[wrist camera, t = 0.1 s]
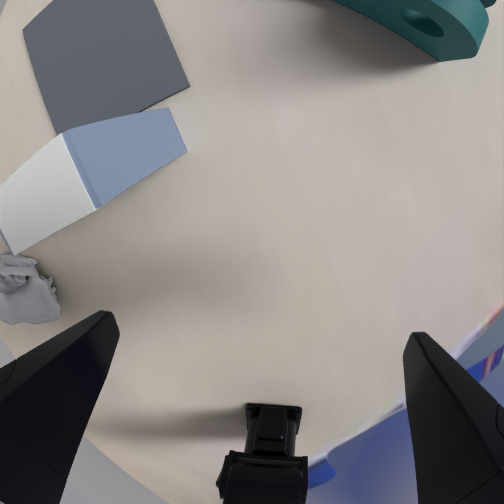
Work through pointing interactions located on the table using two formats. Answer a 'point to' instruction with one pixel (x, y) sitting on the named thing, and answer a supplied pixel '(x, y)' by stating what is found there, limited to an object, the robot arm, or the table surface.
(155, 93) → the mat
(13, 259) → the skull
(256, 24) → the table surface
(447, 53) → the bracket
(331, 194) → the table surface
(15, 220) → the book block
